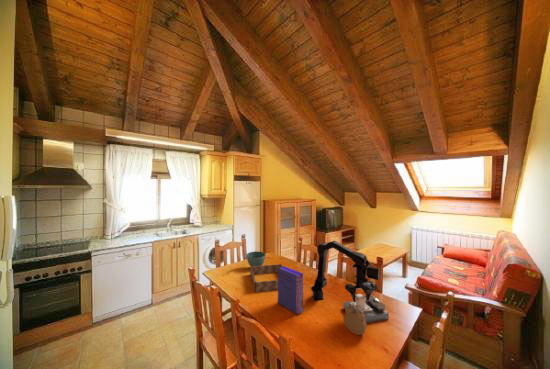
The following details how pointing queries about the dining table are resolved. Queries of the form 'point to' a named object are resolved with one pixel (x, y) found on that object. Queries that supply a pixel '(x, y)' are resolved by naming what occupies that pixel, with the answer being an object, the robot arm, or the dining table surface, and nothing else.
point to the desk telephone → (371, 309)
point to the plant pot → (256, 258)
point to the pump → (360, 302)
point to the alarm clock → (355, 320)
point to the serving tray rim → (264, 284)
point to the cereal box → (290, 289)
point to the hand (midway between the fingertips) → (360, 300)
